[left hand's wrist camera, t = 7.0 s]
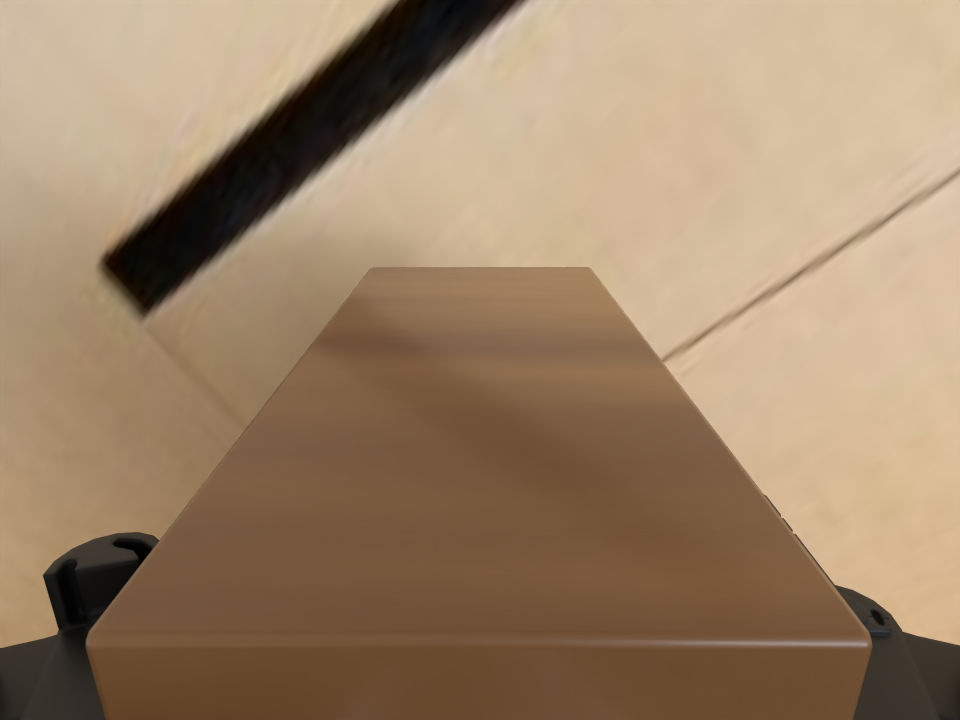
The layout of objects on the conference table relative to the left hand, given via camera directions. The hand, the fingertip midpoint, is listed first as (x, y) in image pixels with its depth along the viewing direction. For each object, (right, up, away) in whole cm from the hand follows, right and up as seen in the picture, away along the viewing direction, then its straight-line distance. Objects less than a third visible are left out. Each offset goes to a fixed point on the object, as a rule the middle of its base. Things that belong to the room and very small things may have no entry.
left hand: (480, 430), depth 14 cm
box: (0, -6, +6) cm, 8 cm away
